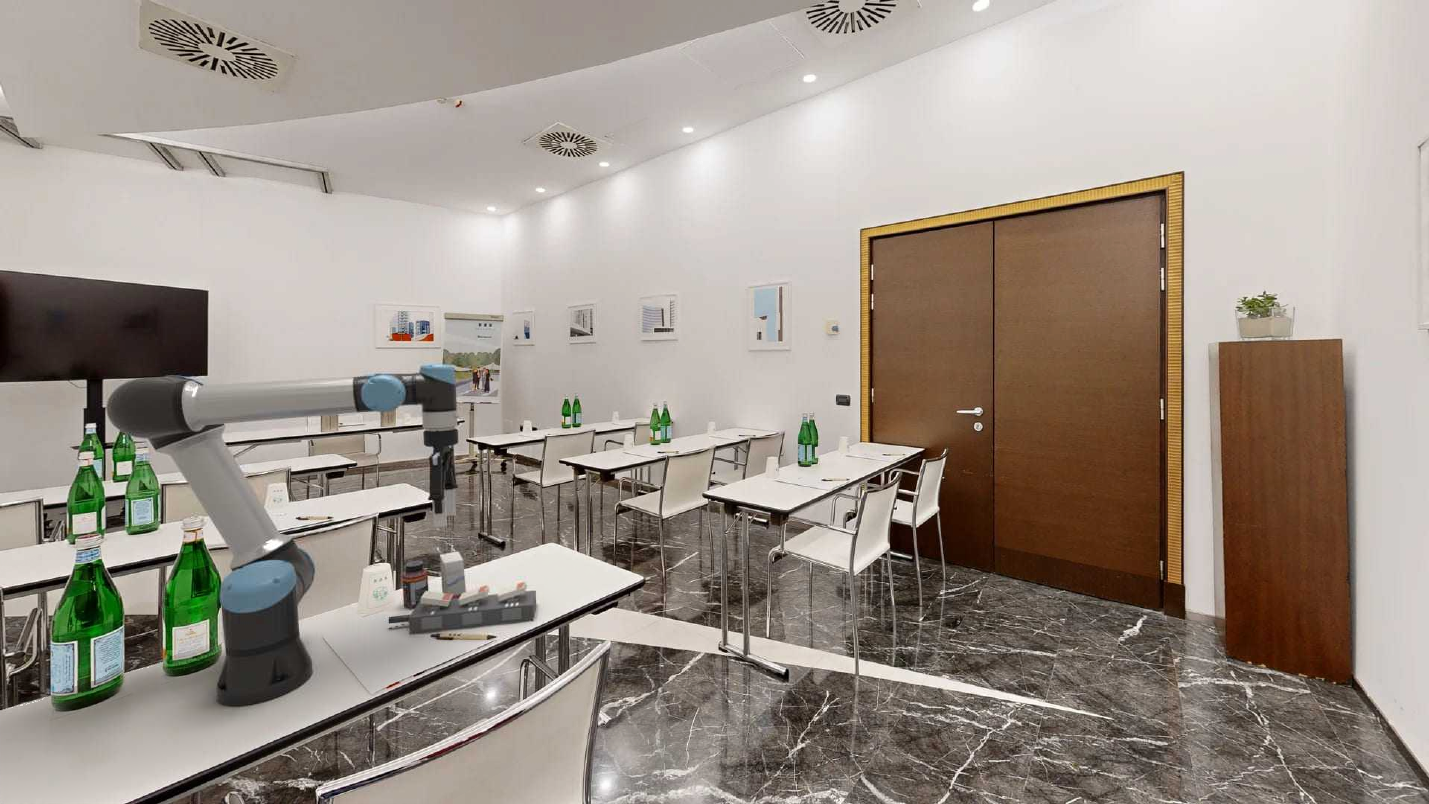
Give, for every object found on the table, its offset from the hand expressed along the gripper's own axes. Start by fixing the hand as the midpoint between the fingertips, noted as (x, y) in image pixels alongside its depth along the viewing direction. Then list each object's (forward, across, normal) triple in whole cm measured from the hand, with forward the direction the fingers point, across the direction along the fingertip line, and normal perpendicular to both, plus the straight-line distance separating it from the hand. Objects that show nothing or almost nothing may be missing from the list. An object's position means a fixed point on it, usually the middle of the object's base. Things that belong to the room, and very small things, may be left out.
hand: (445, 520), depth 139 cm
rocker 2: (+20, 0, -6) cm, 21 cm away
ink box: (+26, +14, +2) cm, 29 cm away
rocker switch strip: (+25, 0, -3) cm, 26 cm away
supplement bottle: (+26, +13, +11) cm, 31 cm away
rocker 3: (+20, 0, -15) cm, 25 cm away
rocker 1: (+20, 0, +3) cm, 20 cm away
